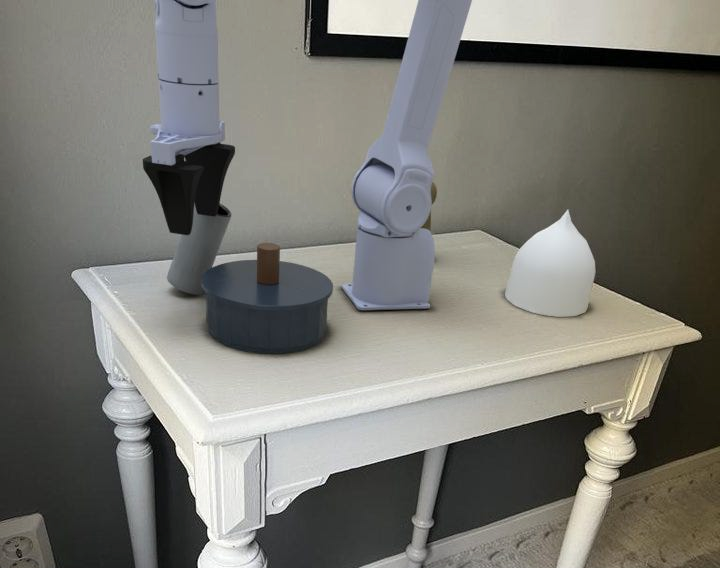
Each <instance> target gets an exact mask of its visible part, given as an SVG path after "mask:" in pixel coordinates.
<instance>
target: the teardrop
mask: <svg viewBox="0 0 720 568" xmlns="http://www.w3.org/2000/svg"><path fill="white" fill-rule="evenodd" d="M595 276H596V261H595V258H594V255H593V252H592V250H591V248H590V246H589V244H588V241H587V239H586V238H585V237H584V236H583V235H582V234H581V233H580V232H579V231H578V229H577V227H576V226H575V225H574V223H573V222H572V218H571V214H570V210H569V209H567V210H566V211H565V212H564V214H563V215H562V216H561V217H560V219H558V220H557V221H555V222H554V223H552V224H551V225H549V226H547V227H545V228H544V229H542V230H540V231H538V232H536V233H535V234H534V235H532V236H531V237H530V238H529V239H527V241H526V242H525V243H523V245H522V246H521V247H520V248H519V249H518V251H517V253H516V255H515V257H514V258H513V261H512V266H511V269H510V273H509V276H508V281H507V285H506V288H505V292H504V295H505V299H506V301H508V302H510V303H511V304H512V305H513V306H514V307H517V308H520V309H522V310H524V311H527V312H530V313H533V314H537V315H540V316H541V315H542V316H548V317H556V318H565V317H567V318H568V317H577V316H579V315H582V314H584V313H586V312H587V310H588V308H589V303H590V299H591V295H592V290H593V286H594V281H595Z"/></svg>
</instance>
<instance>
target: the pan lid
mask: <svg viewBox="0 0 720 568" xmlns="http://www.w3.org/2000/svg"><path fill="white" fill-rule="evenodd" d="M201 285H202V288H203V292H205V294H206V293H207V294H208V295H210V296H211V297H213V298H215V299H217V300H219V301H221V302H224V303H227V304H230V305H234V306H238V307H243V308H249V309H256V310H270V311H282V310H295V309H302V308H307V307H311V306H315V305H318V304H320V303H322V302H324V301H326V300H327V299H328V300H329V299H330V298H331V297H332V295H333V292H334V284H333V281H332V280H331V279H330V278H329V277H328V276H327V275H326V274H324V273H323V272H321V271H319V270H317V269H315V268H312V267H309V266H306V265H303V264H299V263H294V262H291V261H284V260H283V261H282V260H281V247H280V245H279V244H276V243H273V242H262V243H258V244H257V245H256V259H243V260H242V259H241V260H234V261H233V260H232V261H228V262H223V263H220V264H217V265H213V266H212V268H210V269H209V270H207V271H206V272H205V273H204V274H203V275H202V278H201Z"/></svg>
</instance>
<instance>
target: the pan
mask: <svg viewBox="0 0 720 568" xmlns="http://www.w3.org/2000/svg"><path fill="white" fill-rule="evenodd" d="M328 306H329V298H328V299H327V300H326V301H324V302H322V303H320V304H318V305H315V306H311V307H307V308H302V309H295V310H282V311H270V310H256V309H249V308H243V307H238V306H234V305H230V304H227V303H224V302H221V301H219V300H217V299H215V298H213V297H211V296H210V295H208V294H207V293H206V292H205V316H206V317H205V319H206V321H205V322H206V327H207V331H208V334H209V335H210V336H211V338H212V339H214V340H215V341H217V342H218V343H220V344H222V345H224V346H226V347H229V348H232V349H235V350H239V351H242V352H247V353H254V354H265V355H266V354H269V355H277V354H278V355H279V354H291V353H297V352H301V351H304V350H308V349H310V348H313V347H314V346H317V345H318V344H320V343H321V342H322V341H323V340H324V338H325V337H326V329H327V323H328V322H327V321H328V320H327V319H328Z"/></svg>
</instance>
